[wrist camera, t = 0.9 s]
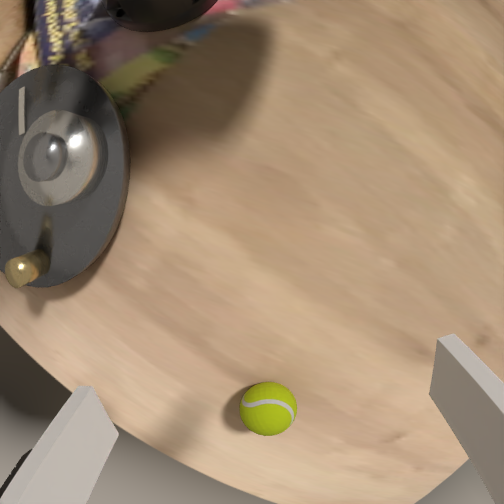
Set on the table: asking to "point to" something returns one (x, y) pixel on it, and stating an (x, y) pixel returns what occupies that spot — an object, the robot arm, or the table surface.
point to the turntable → (63, 215)
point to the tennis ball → (268, 408)
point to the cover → (62, 158)
